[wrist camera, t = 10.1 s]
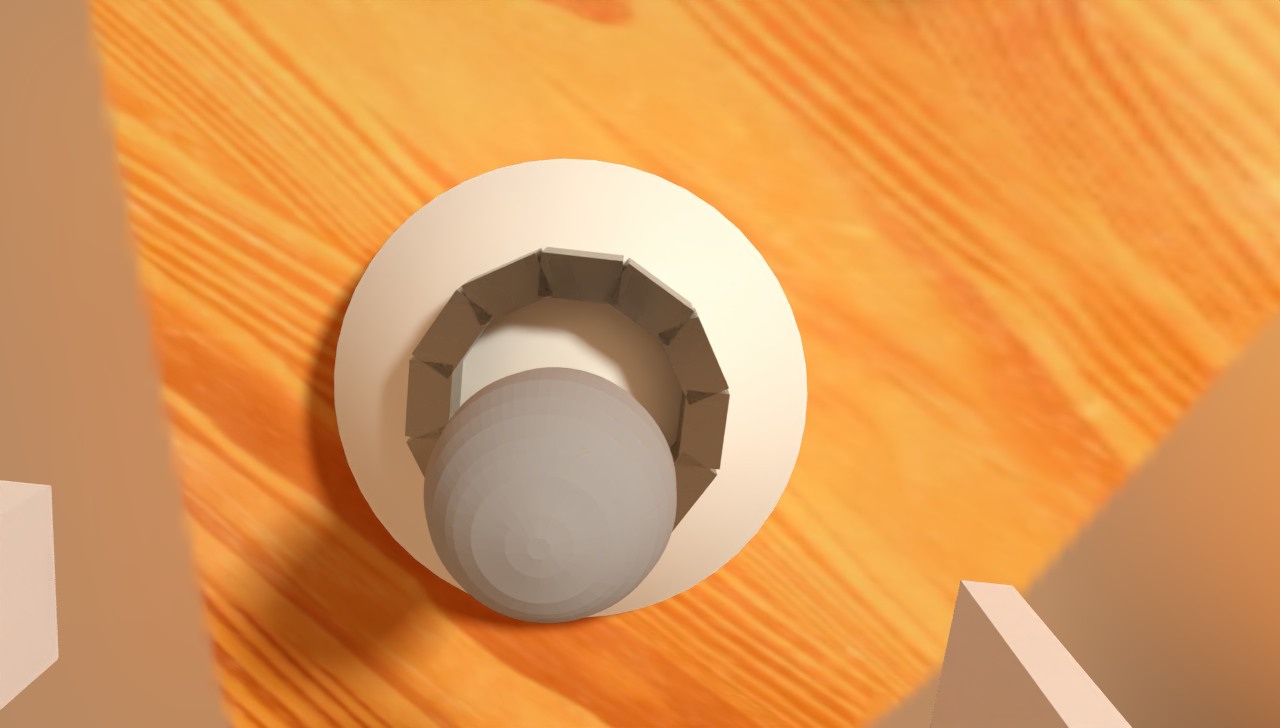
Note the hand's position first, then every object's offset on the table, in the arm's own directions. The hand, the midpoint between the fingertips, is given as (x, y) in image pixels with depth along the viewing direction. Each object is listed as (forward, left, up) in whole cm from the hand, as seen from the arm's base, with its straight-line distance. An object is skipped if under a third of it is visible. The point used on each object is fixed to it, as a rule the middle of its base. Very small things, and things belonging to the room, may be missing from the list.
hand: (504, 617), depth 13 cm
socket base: (0, 0, -16) cm, 16 cm away
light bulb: (0, 0, -14) cm, 14 cm away
